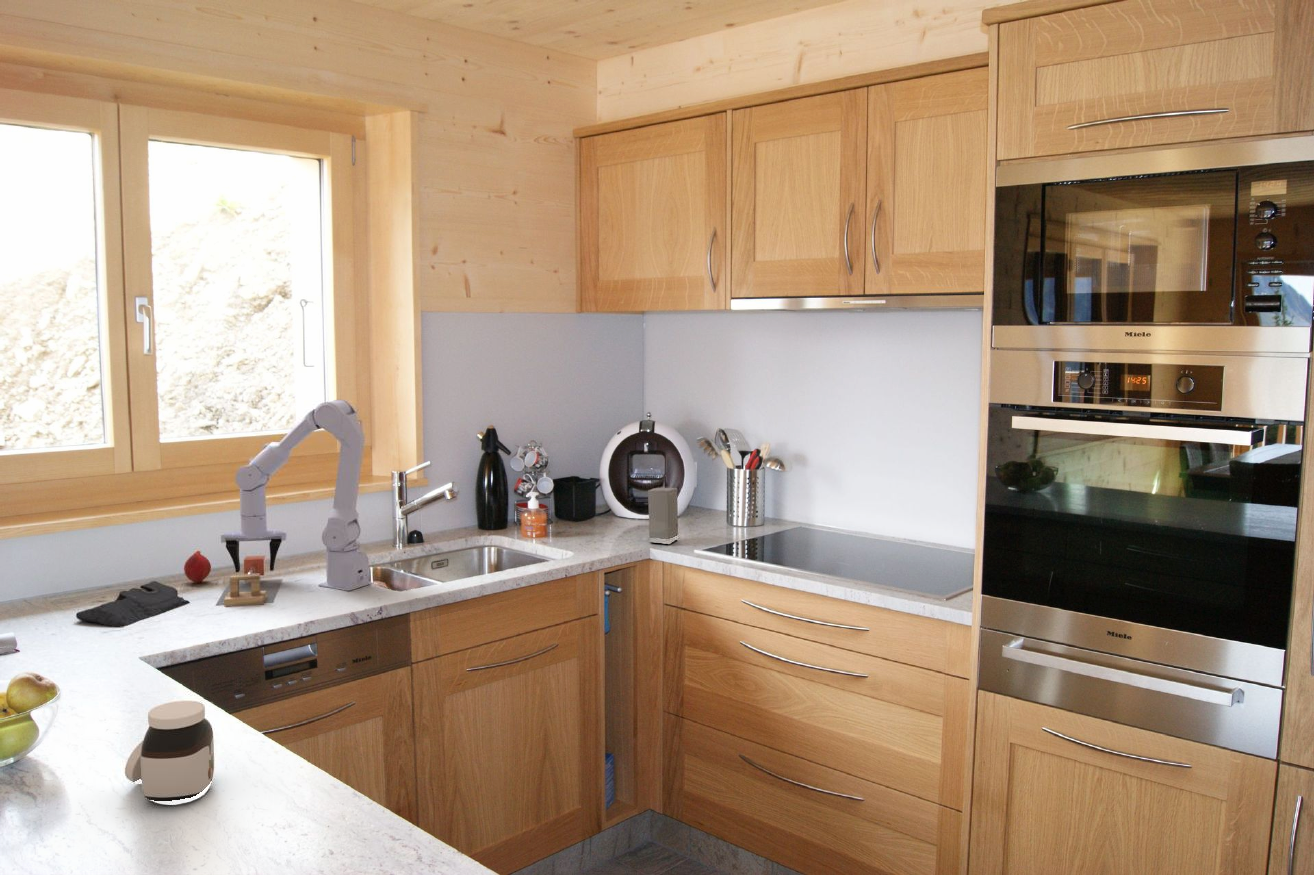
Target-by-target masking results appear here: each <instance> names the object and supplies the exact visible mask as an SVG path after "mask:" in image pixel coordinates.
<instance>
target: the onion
mask: <svg viewBox="0 0 1314 875" xmlns="http://www.w3.org/2000/svg"><path fill="white" fill-rule="evenodd" d="M201 552H202V551H201V550H199V549H198V550H195V551H194V553H193V554H192V555H191V556H190V557H188V559H187V560H186V561H185V563H184V567H183V570H184V575H185V576H186V578H187V579H188V580H190V581H191V582H193V583H195V584H201V583H202V582H203V581H204V580H205V579H206V578H207V577H208V576H209V575H210V573H211V570H212V564H211V562H210V560H209V559H208V558H207V557H206V556H204V555H203V554H201ZM200 582H201V583H200Z"/></svg>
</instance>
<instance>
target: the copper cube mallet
mask: <svg viewBox="0 0 1314 875" xmlns="http://www.w3.org/2000/svg"><path fill="white" fill-rule="evenodd" d="M266 567H267V566H266V555H251V556H249V555H248V556H247V555H246V556H245V557H244V558H243V574H258V573H260V577H261V576H265V574H266ZM243 581H244V582H245V583H250V582H251V580H243Z"/></svg>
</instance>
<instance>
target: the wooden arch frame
mask: <svg viewBox="0 0 1314 875" xmlns="http://www.w3.org/2000/svg"><path fill="white" fill-rule="evenodd" d="M244 580H251V592H239V581H244ZM260 580H261V576H260V573H258V574H244V573H240V574H239V573H238V574H237V573H236V574H230V576H229V582H230V593H228V594H227V596H226V597H225V599H224V605H223V606H224V607H236V606H238V607H239V606H252V605H253V606H257V605H264V604H265V603H264V601H265V599H266V591H260Z"/></svg>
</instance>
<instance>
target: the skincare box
mask: <svg viewBox="0 0 1314 875" xmlns="http://www.w3.org/2000/svg"><path fill="white" fill-rule="evenodd" d="M647 496H648V498H647V499H648V500H647V501H648V502H647V503H648V536H649V537H648V539H649V538H660V539H670V538H673V537H675V536H677V535H678V536H679V516H678V514H679V511H678V509H679V508H678V488H677V487H655V488H652V489H648V491H647Z"/></svg>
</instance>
